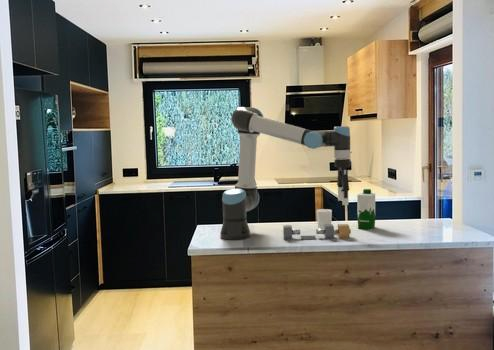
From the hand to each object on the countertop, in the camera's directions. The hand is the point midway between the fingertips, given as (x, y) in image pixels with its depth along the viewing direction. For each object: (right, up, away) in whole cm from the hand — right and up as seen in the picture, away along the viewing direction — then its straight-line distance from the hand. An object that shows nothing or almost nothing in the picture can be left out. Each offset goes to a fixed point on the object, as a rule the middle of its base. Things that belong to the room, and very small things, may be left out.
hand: (343, 202), depth 233 cm
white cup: (-6, -15, +21) cm, 26 cm away
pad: (-17, -17, +2) cm, 24 cm away
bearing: (-25, -17, +2) cm, 30 cm away
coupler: (0, -17, +1) cm, 17 cm away
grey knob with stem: (-9, -17, +2) cm, 19 cm away
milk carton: (+16, -15, +21) cm, 30 cm away
